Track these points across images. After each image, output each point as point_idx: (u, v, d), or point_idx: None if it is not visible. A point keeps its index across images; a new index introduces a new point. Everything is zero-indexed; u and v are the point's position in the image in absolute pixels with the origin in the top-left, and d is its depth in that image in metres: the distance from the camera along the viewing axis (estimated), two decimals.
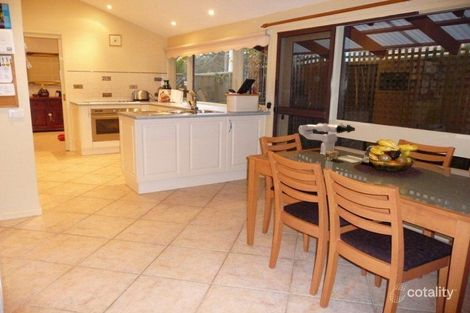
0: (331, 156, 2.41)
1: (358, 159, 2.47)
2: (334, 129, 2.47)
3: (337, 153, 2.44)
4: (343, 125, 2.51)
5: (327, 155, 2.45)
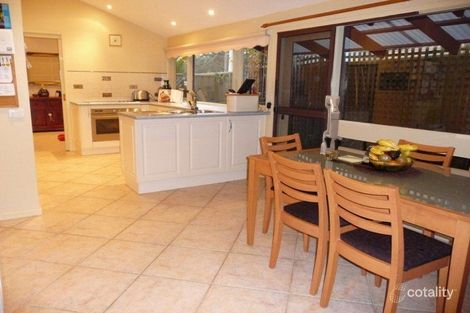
0: (331, 156, 2.41)
1: (358, 159, 2.47)
2: None
3: (337, 153, 2.44)
4: (332, 137, 2.40)
5: (327, 155, 2.45)
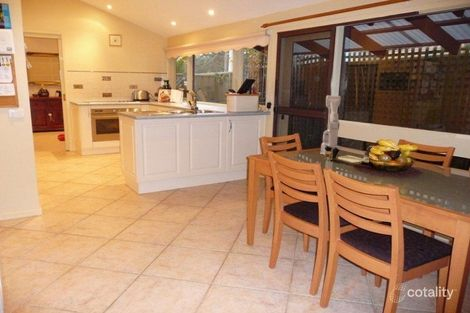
0: (331, 156, 2.41)
1: (358, 159, 2.47)
2: None
3: None
4: (331, 146, 2.41)
5: (327, 155, 2.45)
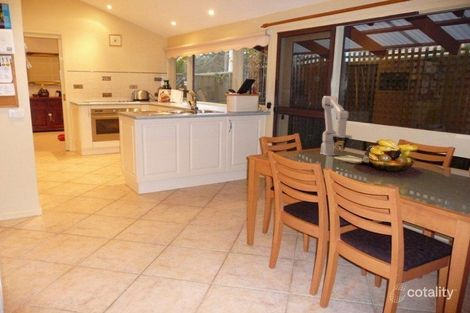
0: (342, 147, 2.41)
1: (358, 159, 2.47)
2: None
3: None
4: (342, 136, 2.41)
5: (336, 146, 2.43)
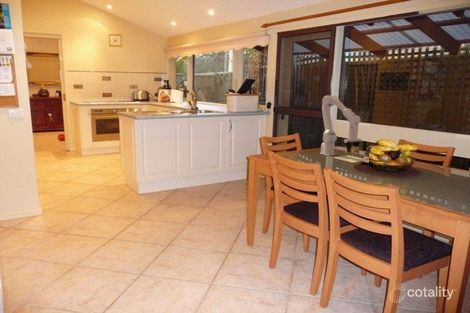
0: None
1: (358, 159, 2.47)
2: (345, 141, 2.43)
3: None
4: (357, 140, 2.45)
5: None
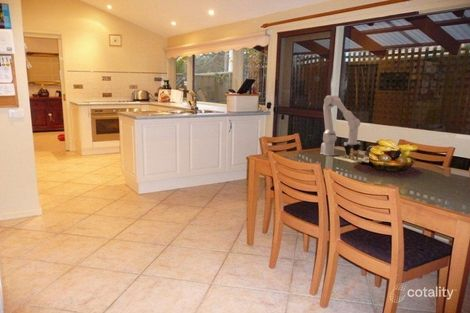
0: None
1: (358, 159, 2.47)
2: (344, 144, 2.44)
3: None
4: (356, 143, 2.46)
5: None
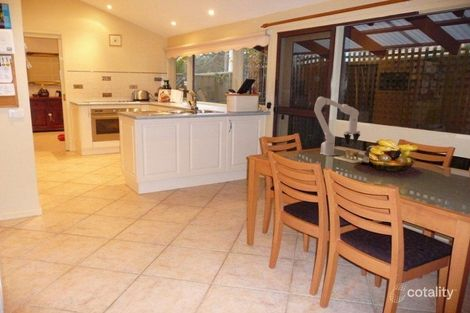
0: None
1: (358, 159, 2.47)
2: (345, 133, 2.54)
3: None
4: (356, 132, 2.57)
5: None
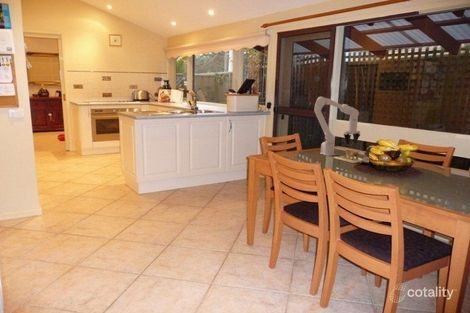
0: None
1: (358, 159, 2.47)
2: (345, 133, 2.54)
3: None
4: (356, 132, 2.57)
5: None
